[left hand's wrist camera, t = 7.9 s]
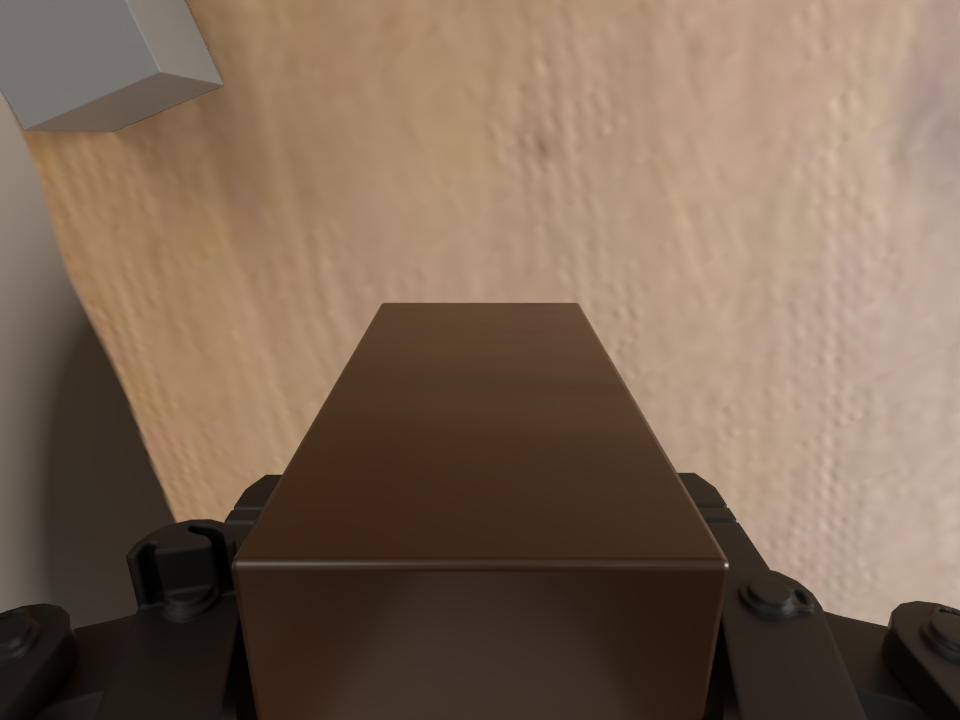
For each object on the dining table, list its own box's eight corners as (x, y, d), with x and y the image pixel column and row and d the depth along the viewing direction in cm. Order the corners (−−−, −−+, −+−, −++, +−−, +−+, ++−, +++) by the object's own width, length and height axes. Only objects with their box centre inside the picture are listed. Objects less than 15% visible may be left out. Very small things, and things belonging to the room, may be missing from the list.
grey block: (39, -4, 22) (-77, -41, 18) (158, -58, 22) (71, -111, 17) (112, 132, 24) (23, 130, 19) (224, 85, 24) (161, 71, 19)
